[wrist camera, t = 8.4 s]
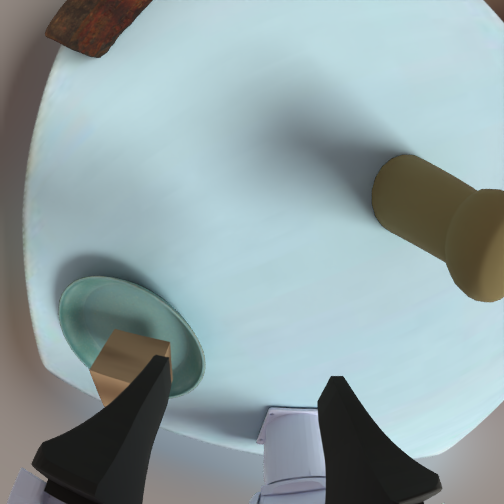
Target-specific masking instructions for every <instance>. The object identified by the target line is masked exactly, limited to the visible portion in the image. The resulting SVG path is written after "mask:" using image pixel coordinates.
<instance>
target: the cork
mask: <svg viewBox="0 0 504 504" xmlns="http://www.w3.org/2000/svg"><path fill="white" fill-rule="evenodd" d="M372 206H373V210H374V213H375V216H376V218H377V219H378V221H379V222H380V224H381V225H382V226H383V227H384V228H386V229H387V230H388V231H390V232H391V233H393V234H395V235H397V236H399V237H401V238H403V239H405V240H406V241H408V242H410V243H412V244H414V245H416V246H417V247H419V248H421V249H423V250H425V251H426V252H428V253H430V254H432V255H433V256H435V257H437V258H439V259H440V260H442V261H444V262H445V263H446V265H447V267H448V270H449V272H450V275H451V277H452V279H453V281H454V283H455V284H456V285H457V286H458V287H459V288H460V289H461V290H462V291H463V292H464V293H465V294H466V295H467V296H468V297H470V298H472V299H474V300H476V301H481V302H494V301H497V300H500V299H502V298H503V297H504V191H502V190H498V189H481V190H479V191H477V190H475V189H474V188H472V187H471V186H469V185H468V184H466V183H464V182H463V181H461V180H459V179H458V178H456V177H454V176H453V175H451V174H449V173H447V172H446V171H444V170H442V169H440V168H439V167H437V166H435V165H433V164H431V163H429V162H427V161H425V160H424V159H421V158H419V157H417V156H415V155H400V156H397V157H395V158H392V159H391V160H389V161H388V162H387V163H386V164H385V165H383V166H382V168H381V169H380V171H379V173H378V174H377V176H376V177H375V181H374V185H373V188H372Z"/></svg>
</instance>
